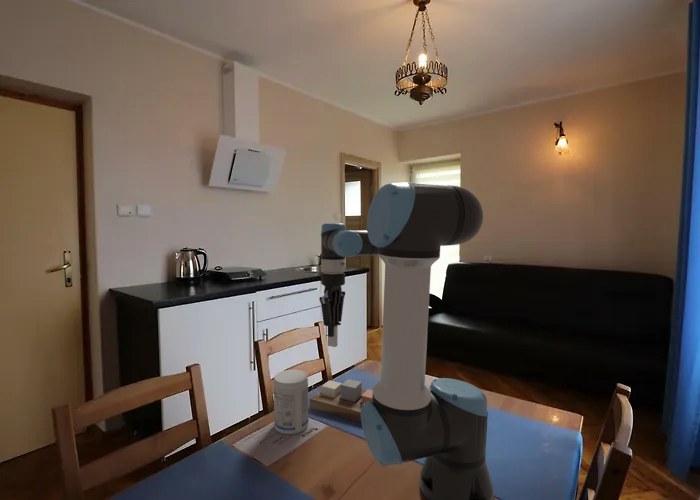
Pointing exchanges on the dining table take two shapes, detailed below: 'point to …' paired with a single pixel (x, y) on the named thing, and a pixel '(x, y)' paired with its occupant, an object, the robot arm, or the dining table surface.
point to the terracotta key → (367, 396)
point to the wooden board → (337, 406)
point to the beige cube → (331, 389)
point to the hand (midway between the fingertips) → (332, 345)
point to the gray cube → (351, 390)
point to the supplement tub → (290, 401)
